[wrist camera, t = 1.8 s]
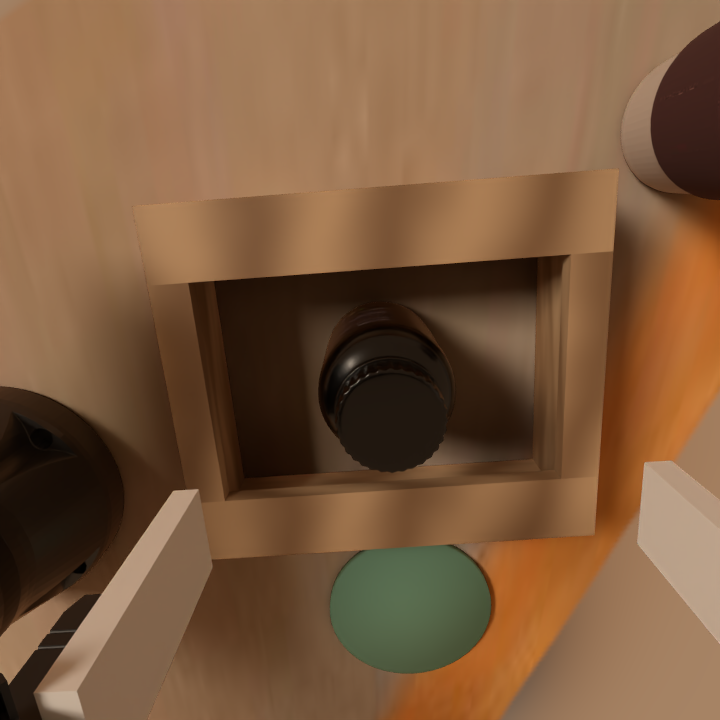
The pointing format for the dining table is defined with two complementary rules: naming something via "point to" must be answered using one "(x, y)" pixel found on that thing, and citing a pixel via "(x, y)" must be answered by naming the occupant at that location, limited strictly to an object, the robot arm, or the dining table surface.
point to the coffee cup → (678, 122)
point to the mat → (410, 607)
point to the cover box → (375, 251)
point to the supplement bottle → (386, 387)
